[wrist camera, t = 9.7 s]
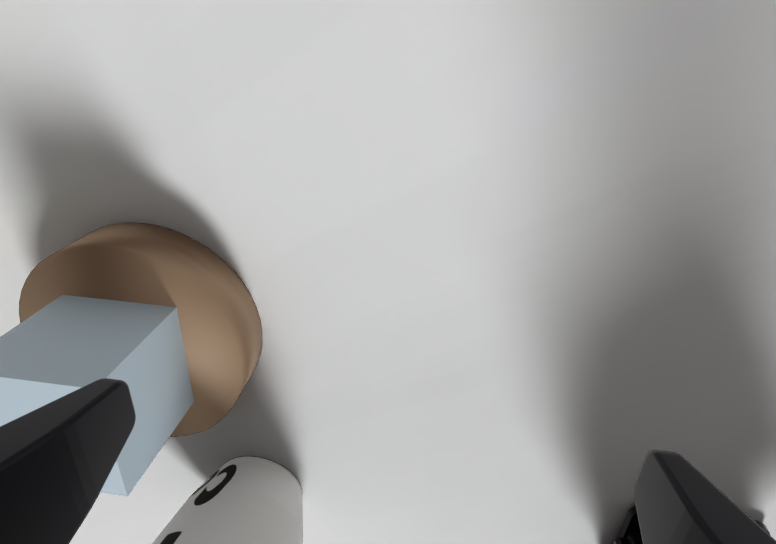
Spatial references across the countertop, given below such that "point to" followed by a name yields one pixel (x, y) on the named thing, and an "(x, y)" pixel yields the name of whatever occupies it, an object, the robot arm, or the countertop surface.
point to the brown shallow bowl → (164, 303)
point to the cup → (241, 507)
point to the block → (101, 369)
